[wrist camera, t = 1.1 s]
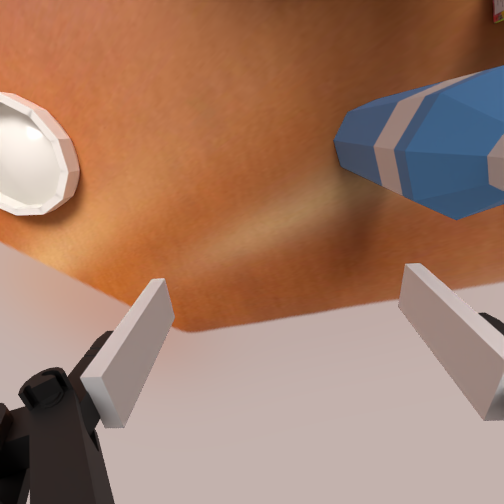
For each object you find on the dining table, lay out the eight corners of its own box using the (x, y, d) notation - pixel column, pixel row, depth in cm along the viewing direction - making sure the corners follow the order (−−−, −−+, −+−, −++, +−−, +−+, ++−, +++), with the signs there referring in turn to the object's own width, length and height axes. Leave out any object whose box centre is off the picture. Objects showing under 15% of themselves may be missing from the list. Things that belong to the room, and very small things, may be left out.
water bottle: (361, 191, 38) (509, 283, 15) (318, 140, 35) (419, 160, 13) (421, 139, 35) (716, 159, 12) (379, 80, 33) (651, -33, 10)
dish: (-54, 98, 35) (-78, 96, 32) (58, 91, 34) (42, 88, 32) (-3, 211, 41) (-21, 216, 39) (92, 207, 40) (81, 213, 38)
